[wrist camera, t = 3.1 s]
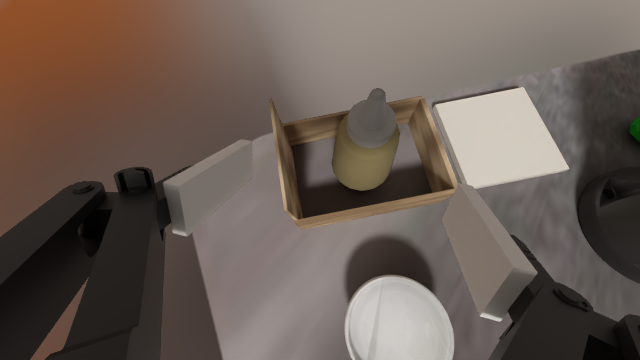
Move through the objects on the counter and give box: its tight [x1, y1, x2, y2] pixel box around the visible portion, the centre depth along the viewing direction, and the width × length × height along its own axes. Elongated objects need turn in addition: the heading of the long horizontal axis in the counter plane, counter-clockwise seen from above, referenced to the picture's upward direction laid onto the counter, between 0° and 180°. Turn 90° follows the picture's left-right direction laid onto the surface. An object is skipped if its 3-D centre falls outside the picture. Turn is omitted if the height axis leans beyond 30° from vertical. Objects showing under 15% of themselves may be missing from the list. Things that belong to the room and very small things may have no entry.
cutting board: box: [433, 87, 569, 189], centre depth 36 cm, size 14×14×1 cm
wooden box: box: [269, 96, 458, 229], centre depth 31 cm, size 14×20×12 cm
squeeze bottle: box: [332, 88, 400, 191], centre depth 28 cm, size 8×8×18 cm
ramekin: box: [344, 275, 454, 360], centre depth 28 cm, size 11×11×5 cm
